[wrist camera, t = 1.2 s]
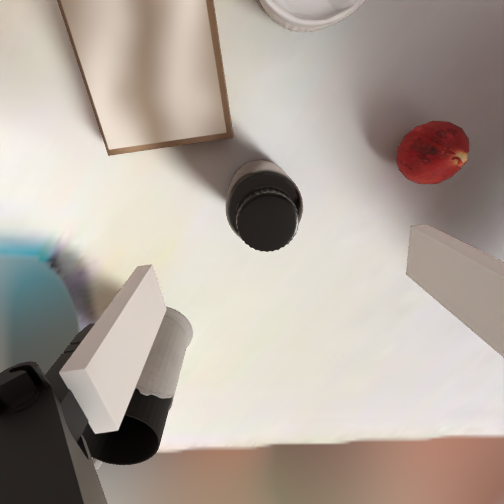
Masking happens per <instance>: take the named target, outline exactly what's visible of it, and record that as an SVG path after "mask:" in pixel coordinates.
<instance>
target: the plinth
mask: <svg viewBox="0 0 504 504" xmlns="http://www.w3.org/2000/svg"><path fill="white" fill-rule="evenodd" d="M57 1H58V4H59V7H60V10H61V13H62V16H63V19H64V22H65V25H66V28H67V31H68V34H69V37H70V40H71V43H72V46H73V49H74V52H75V56H76V59H77V62H78V65H79V68H80V71H81V74H82V77H83V80H84V83H85V86H86V89H87V92H88V95H89V98H90V101H91V104H92V107H93V110H94V113H95V116H96V119H97V123H98V126H99V129H100V132H101V135H102V138H103V141H104V144H105V147H106V150H107V153H108V156H109V155H116V154H123V153H130V152H137V151H144V150H151V149H158V148H164V147H171V146H178V145H185V144H192V143H199V142H206V141H213V140H220V139H226V138H233V130H232V123H231V116H230V110H229V103H228V96H227V89H226V83H225V76H224V69H223V62H222V56H221V49H220V42H219V35H218V28H217V22H216V15H215V8H214V1H213V0H57Z"/></svg>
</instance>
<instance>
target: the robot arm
mask: <svg viewBox="0 0 504 504" xmlns="http://www.w3.org/2000/svg"><path fill="white" fill-rule="evenodd" d="M406 275H407V276H409V277H410V278H411V279H412V280H413V281H414V282H416V283H417V284H418V285H419V286H420V287H422V288H423V289H424V290H425V291H426V292H427V293H429V294H430V295H431V296H432V297H433V298H434V299H436V300H437V301H438V302H439V303H440V304H441V305H443V306H444V307H445V308H446V309H447V310H449V311H450V312H451V313H452V314H453V315H454V316H456V317H457V318H458V319H459V320H460V321H461V322H463V323H464V324H465V325H466V326H467V327H469V328H470V329H471V330H472V331H473V332H474V333H476V334H477V335H478V336H479V337H480V338H481V339H483V340H484V341H485V342H486V343H487V344H488V345H490V346H491V347H492V348H493V349H494V350H496V351H497V352H498V353H499V354H500V355H501V356H503V357H504V262H502V261H500V260H498V259H496V258H494V257H492V256H490V255H488V254H486V253H484V252H482V251H480V250H478V249H476V248H474V247H472V246H470V245H468V244H466V243H464V242H462V241H460V240H458V239H456V238H454V237H452V236H450V235H448V234H446V233H444V232H442V231H440V230H438V229H435V228H433V227H431V226H429V225H427V224H422V225H416V226H411V230H410V240H409V249H408V259H407V268H406ZM166 310H167V308H166V305H165V302H164V299H163V296H162V293H161V290H160V287H159V283H158V280H157V277H156V274H155V271H154V268H153V265H152V264H151V265H145V266H138V267H137V268H136V269H135V270H134V272H133V273H132V275H131V276H130V277H129V279H128V280H127V281H126V283H125V284H124V285H123V287H122V288H121V289H120V291H119V292H118V293H117V295H116V296H115V297H114V299H113V300H112V301H111V303H110V304H109V306H108V307H107V308H106V310H105V311H104V312H103V314H102V315H101V316H100V318H99V319H98V320H97V322H96V323H93V324H89V325H88V326H87V327H85V328H84V329H83V330H82V331H80V332H79V333H78V334H77V335H76V337H75V338H74V339H73V341H72V342H71V343H70V345H68V347H67V348H66V350H65V351H64V354H61V356H60V357H59V358H58V359H57V361H56V362H55V363H54V365H53V366H52V367H51V368H50V370H49V371H48V372H47V373H46V375H44V374H43V372H42V370H41V369H40V367H39V365H38V364H37V363H36V362H25V363H20V364H17V365H15V366H12V367H10V368H8V369H6V370H4V371H3V372H1V373H0V504H107V501H106V498H105V495H104V492H103V489H102V487H101V484H100V481H99V478H98V475H97V472H96V469H95V466H94V464H93V461H92V458H91V455H90V452H89V449H88V446H87V443H86V441H85V439H84V437H83V436H82V433H83V431H84V429H85V427H86V425H87V423H89V425H90V426H91V428H92V430H93V431H94V433H95V434H98V433H105V432H112V431H118V430H119V427H120V425H121V422H122V420H123V417H124V415H125V412H126V410H127V407H128V405H129V402H130V400H131V397H132V395H133V392H134V390H135V387H136V385H137V382H138V380H139V377H140V375H141V372H142V370H143V367H144V365H145V362H146V360H147V357H148V355H149V352H150V350H151V347H152V345H153V342H154V340H155V337H156V335H157V332H158V330H159V327H160V325H161V322H162V320H163V317H164V315H165V312H166Z"/></svg>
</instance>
